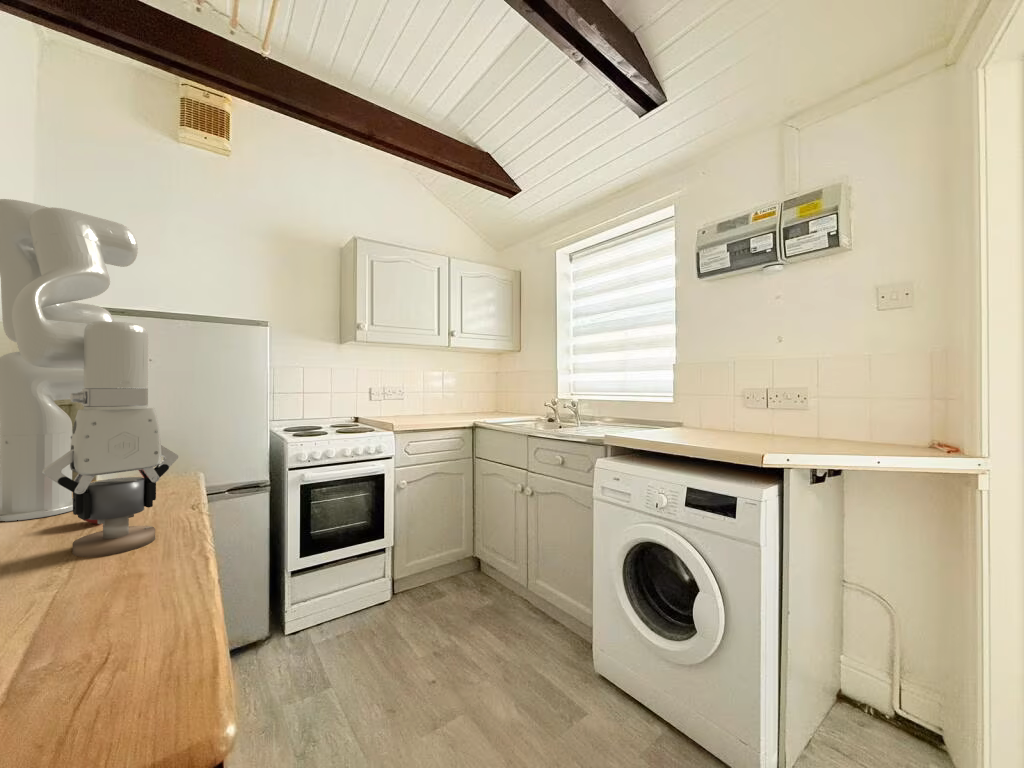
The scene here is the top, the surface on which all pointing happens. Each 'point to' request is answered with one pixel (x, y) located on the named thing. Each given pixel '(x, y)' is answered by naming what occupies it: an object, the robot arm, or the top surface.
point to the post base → (114, 538)
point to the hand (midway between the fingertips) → (116, 511)
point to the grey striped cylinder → (116, 497)
